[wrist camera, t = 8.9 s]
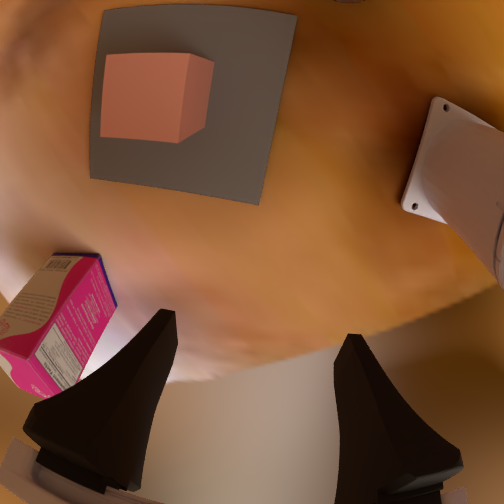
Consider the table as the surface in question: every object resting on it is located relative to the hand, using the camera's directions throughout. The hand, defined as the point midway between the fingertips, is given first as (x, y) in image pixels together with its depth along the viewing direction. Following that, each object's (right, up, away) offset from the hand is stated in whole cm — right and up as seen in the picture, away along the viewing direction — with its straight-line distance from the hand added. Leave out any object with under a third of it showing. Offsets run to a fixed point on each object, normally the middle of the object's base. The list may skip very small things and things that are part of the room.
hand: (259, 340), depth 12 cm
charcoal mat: (-5, +13, +4) cm, 14 cm away
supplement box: (-15, +1, +12) cm, 20 cm away
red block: (-5, +13, +3) cm, 14 cm away
